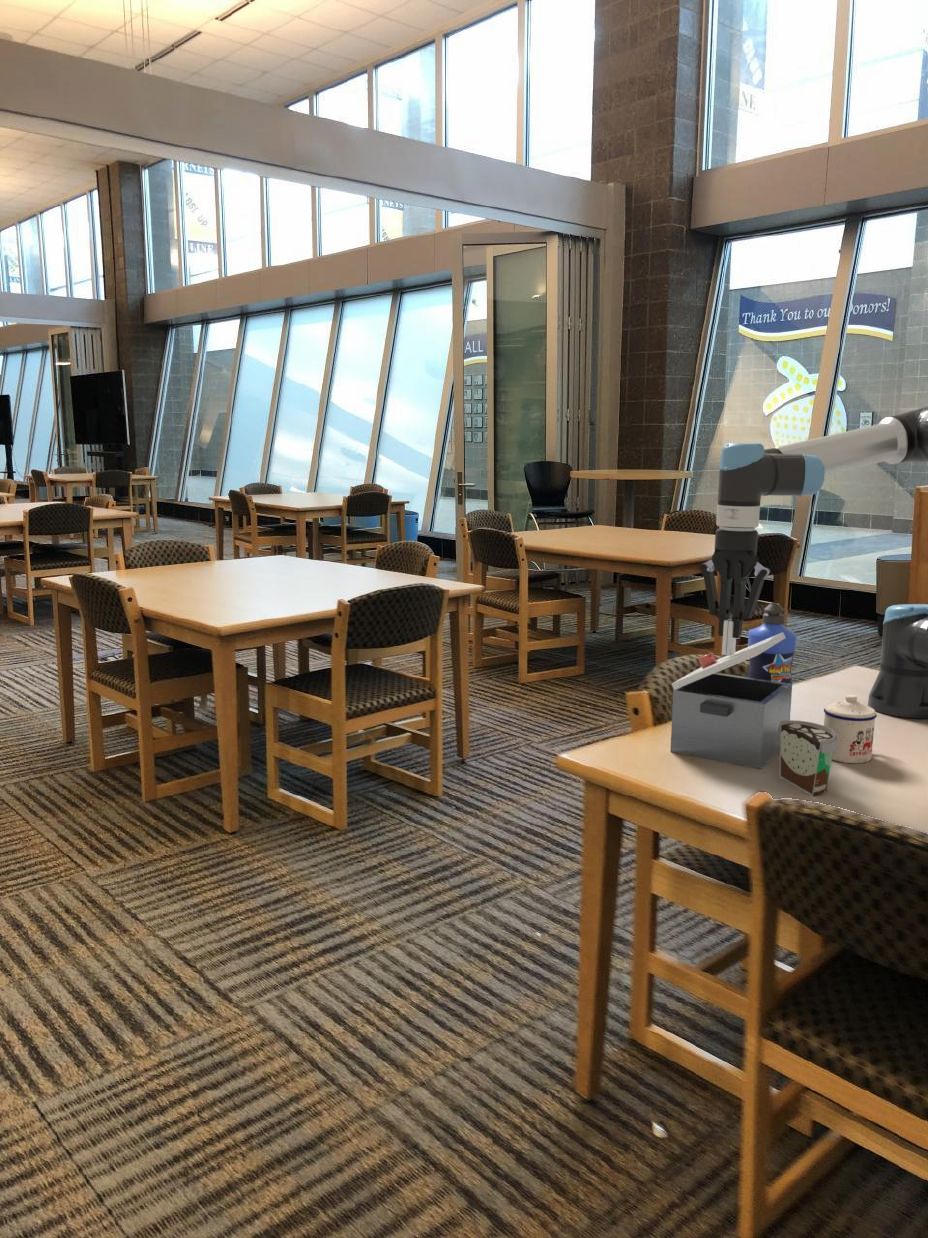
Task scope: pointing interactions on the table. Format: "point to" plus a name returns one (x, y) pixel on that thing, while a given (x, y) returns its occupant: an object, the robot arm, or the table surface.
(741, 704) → the grey storage box
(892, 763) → the table surface
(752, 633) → the water bottle
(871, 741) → the teacup with lid
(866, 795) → the table surface
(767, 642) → the grey box lid
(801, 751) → the food container
